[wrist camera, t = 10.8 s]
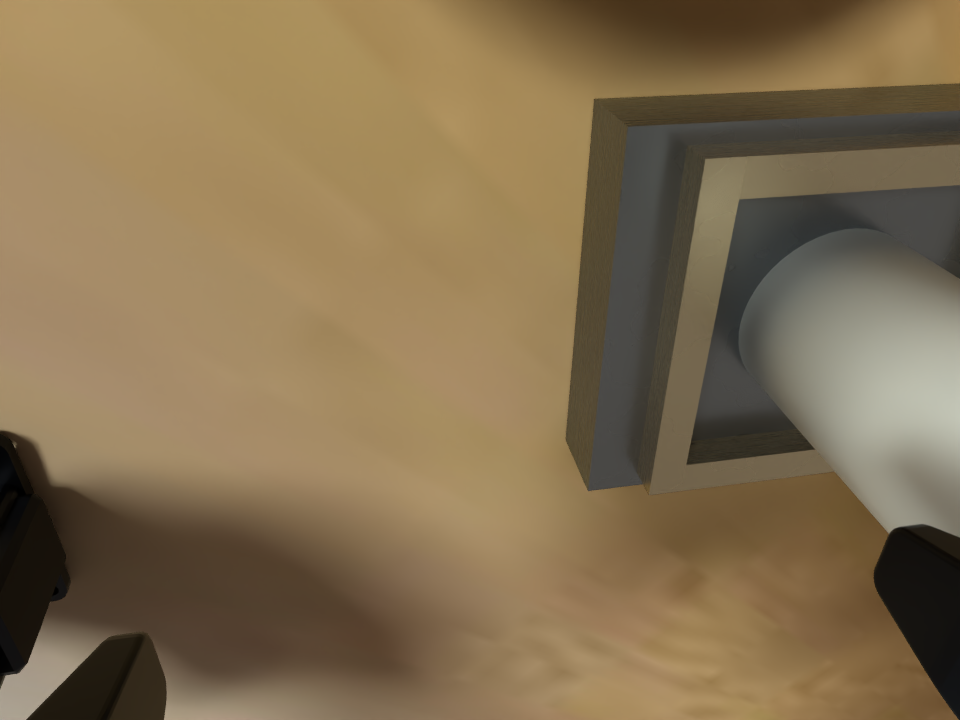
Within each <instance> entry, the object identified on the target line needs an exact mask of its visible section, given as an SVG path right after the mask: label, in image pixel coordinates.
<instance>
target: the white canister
mask: <svg viewBox="0 0 960 720" xmlns="http://www.w3.org/2000/svg"><path fill="white" fill-rule="evenodd" d="M738 344H739V352H740V356H741V359H742V362H743V364H744V366H745V368H746V370H747V371H748V372H749V374H750V375H751V376H752V377H753V379H754V380H755V381H756V382H757V383H758V384H759V385H760V387H761V388H762V389H763V390H764V391H765V392H766V393H767V395H768V396H769V397H770V398H771V399H772V400H773V401H774V403H775V404H776V405H777V406H778V407H779V408H780V409H781V411H782V412H783V413H784V414H785V415H786V416H787V418H788V419H789V420H790V421H791V422H792V423H793V424H794V426H795V427H796V428H797V429H798V430H799V431H800V432H801V434H802V435H803V436H804V437H805V438H806V439H807V440H808V442H809V443H810V444H811V445H812V446H813V447H814V448H815V450H816V451H817V452H818V453H819V454H820V455H821V457H822V458H823V459H824V460H825V461H826V462H827V463H828V465H829V466H830V467H831V468H832V469H833V470H834V471H835V473H836V474H837V475H838V476H839V477H840V478H841V479H842V481H843V482H844V483H845V484H846V485H847V486H848V487H849V489H850V490H851V491H852V492H853V493H854V494H855V496H856V497H857V498H858V499H859V500H860V501H861V502H862V504H863V505H864V506H865V507H866V508H867V509H868V510H869V512H870V513H871V514H872V515H873V516H874V517H875V518H876V520H877V521H878V522H879V523H880V524H881V525H882V526H883V528H884V529H885V530H886V531H887V532H888V533H889V534H890V532H891V531H892V530H893V529H894V528H897V527H901V526H908V525H916V524H926V525H929V526H932V527H935V528H937V529H940V530H942V531H945V532H948V533H950V534H953V535H955V536H958V537H960V279H959V278H957V277H956V276H954V275H953V274H951V273H949V272H948V271H946V270H945V269H943V268H941V267H940V266H938V265H937V264H935V263H933V262H932V261H930V260H929V259H927V258H925V257H924V256H922V255H921V254H919V253H917V252H916V251H914V250H913V249H911V248H909V247H908V246H906V245H905V244H903V243H901V242H900V241H898V240H897V239H895V238H893V237H891V236H890V235H888V234H886V233H883V232H880V231H877V230H872V229H862V228H854V229H845V230H840V231H835V232H831V233H828V234H825V235H823V236H820V237H817V238H815V239H813V240H811V241H809V242H807V243H805V244H804V245H802V246H800V247H799V248H797V249H795V250H794V251H792V252H791V253H790V254H789V255H787V256H786V257H785V258H783V259H782V260H781V261H780V262H779V263H778V264H777V265H776V266H774V267H773V268H772V269H771V270H770V272H769V273H768V274H767V275H766V276H765V277H764V278H763V280H762V281H761V282H760V284H759V285H758V286H757V288H756V289H755V291H754V293H753V294H752V296H751V298H750V299H749V301H748V304H747V306H746V308H745V310H744V313H743V316H742V320H741V323H740V329H739V342H738Z"/></svg>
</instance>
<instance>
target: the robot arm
mask: <svg viewBox="0 0 960 720" xmlns="http://www.w3.org/2000/svg"><path fill="white" fill-rule="evenodd" d="M65 559H66V554H65V552H64V550H63V547H62V545H61V542H60V540H59V538H58V535H57V533H56V530H55V528H54V526H53V523H52V521H51V519H50V516H49V514H48V511H47V509H46V507H45V504H44V502H43V500H42V499H41V498H40V497H39V496H38V495H36V494H34V492H33V490H32V488H31V485H30V483H29V480H28V478H27V476H26V473H25V471H24V469H23V466H22V464H21V462H20V459H19V457H18V455H17V452H16V450H15V447H14V445H13V444H12V442H11V441H10V439H8V438H7V437H5V436H4V435H1V434H0V688H1V686H2V683H3V681H4V678H5V676H6V675H11V674H17V673H20V671H21V670H22V669H23V668H24V667H25V666H26V664H27V663H28V660H29V658H30V655H31V652H32V649H33V647H34V644H35V641H36V639H37V636H38V633H39V630H40V628H41V625H42V622H43V619H44V617H45V614H46V611H47V609H48V606H49V603H50V602H51V601H57V600H60V599H62V598H63V597H65V596H66V594H67V592H68V589H69V586H70V583H71V582H70V577H69V575H68V572H67V570H66V568H65V565H64V562H65ZM874 583H875V587H876V590H877V592H878V594H879V596H880V597H881V599H882V601H883V602H884V604H885V606H886V607H887V609H888V611H889V612H890V614H891V616H892V617H893V619H894V620H895V622H896V624H897V625H898V627H899V629H900V630H901V632H902V634H903V635H904V637H905V638H906V640H907V642H908V643H909V645H910V647H911V648H912V650H913V652H914V653H915V655H916V656H917V658H918V660H919V661H920V663H921V665H922V666H923V668H924V670H925V671H926V673H927V674H928V676H929V678H930V679H931V681H932V682H933V684H934V685H935V687H936V688H937V690H938V691H939V693H940V694H941V696H942V697H943V699H944V700H945V701H946V703H947V704H948V706H949V707H950V708H951V710H952V711H953V712H954V714H955V715H956V716H957V718H958V719H959V720H960V537H958V536H955V535H953V534H950V533H948V532H945V531H942V530H940V529H937V528H935V527H932V526H929V525H926V524H916V525H908V526H901V527H897V528H894V529H893V530H892V531H891V532H890V534H889V535H888V538H887V540H886V543H885V545H884V547H883V550H882V552H881V555H880V557H879V559H878V562H877V564H876V566H875V569H874ZM166 693H167V691H166V680H165V676H164V673H163V670H162V667H161V664H160V662H159V659H158V656H157V653H156V651H155V648H154V645H153V642H152V640H151V638H150V636H149V635H148V634H147V633H145V632H136V633H129V634H122V635H115V636H111V637H109V638H107V639H106V640H105V641H104V642H102V643H101V644H100V645H99V646H98V647H97V648H96V649H95V650H94V651H93V652H92V653H91V655H90V656H89V657H88V658H87V659H86V660H85V661H84V662H83V663H82V664H81V665H80V666H79V667H78V668H77V669H76V670H75V671H74V672H73V673H72V674H71V675H70V676H69V677H68V678H67V679H66V680H65V681H64V682H63V683H62V684H61V685H60V686H59V687H58V688H57V689H56V690H55V691H54V692H53V693H52V694H51V695H50V696H49V697H48V698H47V699H46V700H45V701H44V702H43V703H42V704H41V705H40V706H39V707H38V708H37V709H36V710H35V711H34V712H33V713H32V714H31V715H30V716H29V717H28V718H27V719H26V720H164V715H165V707H166Z"/></svg>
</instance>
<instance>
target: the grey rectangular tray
mask: <svg viewBox="0 0 960 720" xmlns="http://www.w3.org/2000/svg"><path fill="white" fill-rule="evenodd" d="M854 228H862V229H872V230H877V231H880V232H883V233H886V234H888V235H890V236H891V237H893V238H895V239H897V240H898V241H900V242H901V243H903V244H905V245H906V246H908V247H909V248H911V249H913V250H914V251H916V252H917V253H919V254H921V255H922V256H924V257H925V258H927V259H929V260H930V261H932V262H933V263H935V264H937V265H938V266H940V267H941V268H943V269H945V270H946V271H948V272H949V273H951V274H953V275H954V276H956V277H957V278H959V279H960V84H940V85H916V86H892V87H869V88H845V89H821V90H797V91H774V92H750V93H726V94H703V95H679V96H655V97H631V98H608V99H594V109H593V121H592V133H591V144H590V156H589V168H588V180H587V192H586V204H585V216H584V228H583V240H582V252H581V264H580V276H579V288H578V299H577V311H576V323H575V335H574V347H573V359H572V371H571V383H570V395H569V407H568V419H567V431H566V442H567V444H568V446H569V448H570V451H571V453H572V455H573V458H574V460H575V462H576V465H577V467H578V469H579V471H580V474H581V476H582V478H583V481H584V483H585V485H586V487H587V490H588V491H591V490H599V489H607V488H615V487H624V486H632V485H640V484H643V485H644V487H645V489H646V491H647V493H648V495H654V494H662V493H670V492H678V491H686V490H694V489H702V488H710V487H717V486H725V485H733V484H741V483H749V482H757V481H765V480H773V479H781V478H789V477H797V476H805V475H812V474H820V473H828V472H835V471H834V470H833V469H832V468H831V467H830V466H829V465H828V463H827V462H826V461H825V460H824V459H823V458H822V457H821V455H820V454H819V453H818V452H817V451H816V450H815V448H814V447H813V446H812V445H811V444H810V443H809V442H808V440H807V439H806V438H805V437H804V436H803V435H802V434H801V432H800V431H799V430H798V429H797V428H796V427H795V426H794V424H793V423H792V422H791V421H790V420H789V419H788V418H787V416H786V415H785V414H784V413H783V412H782V411H781V409H780V408H779V407H778V406H777V405H776V404H775V403H774V401H773V400H772V399H771V398H770V397H769V396H768V395H767V393H766V392H765V391H764V390H763V389H762V388H761V387H760V385H759V384H758V383H757V382H756V381H755V380H754V379H753V377H752V376H751V375H750V374H749V372H748V371H747V370H746V368H745V366H744V364H743V362H742V359H741V356H740V352H739V344H738V342H739V329H740V323H741V320H742V316H743V313H744V310H745V308H746V306H747V304H748V301H749V299H750V298H751V296H752V294H753V293H754V291H755V289H756V288H757V286H758V285H759V284H760V282H761V281H762V280H763V278H764V277H765V276H766V275H767V274H768V273H769V272H770V270H771V269H772V268H773V267H774V266H776V265H777V264H778V263H779V262H780V261H781V260H782V259H783V258H785V257H786V256H787V255H789V254H790V253H791V252H792V251H794V250H795V249H797V248H799V247H800V246H802V245H804V244H805V243H807V242H809V241H811V240H813V239H815V238H817V237H820V236H823V235H825V234H828V233H831V232H835V231H840V230H845V229H854Z"/></svg>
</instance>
